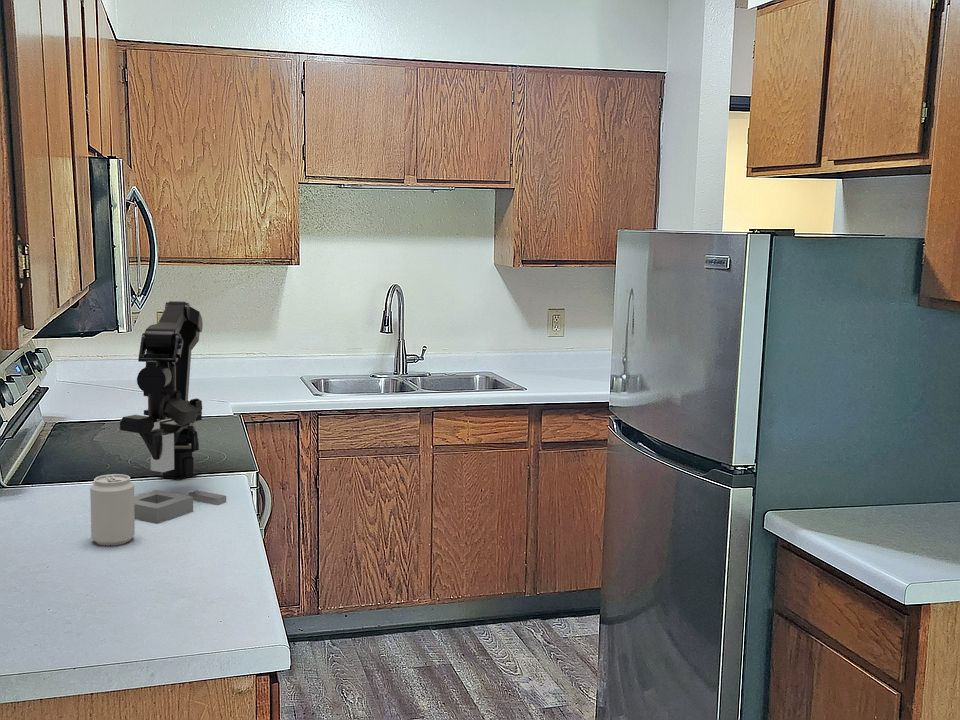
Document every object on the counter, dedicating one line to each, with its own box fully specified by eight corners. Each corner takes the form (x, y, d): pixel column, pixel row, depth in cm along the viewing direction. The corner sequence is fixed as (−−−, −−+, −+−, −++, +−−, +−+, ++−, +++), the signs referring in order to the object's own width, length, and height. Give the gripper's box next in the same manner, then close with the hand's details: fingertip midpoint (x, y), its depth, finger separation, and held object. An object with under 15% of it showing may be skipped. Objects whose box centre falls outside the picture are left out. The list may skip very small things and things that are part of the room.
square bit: (150, 470, 207) (150, 433, 206) (162, 467, 210) (162, 431, 209) (162, 472, 206) (162, 435, 205) (174, 469, 209) (173, 433, 208)
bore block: (119, 515, 193) (119, 500, 192) (156, 503, 202) (156, 490, 201) (157, 523, 188) (157, 508, 188) (193, 511, 197) (193, 496, 197)
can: (99, 549, 172) (98, 484, 171) (85, 538, 178) (84, 475, 176) (140, 542, 177) (140, 478, 175) (126, 532, 183) (125, 470, 181)
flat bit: (188, 501, 206) (188, 493, 206) (197, 498, 208) (197, 490, 208) (217, 506, 202) (217, 498, 202) (226, 503, 205) (226, 495, 205)
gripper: (158, 395, 194) (158, 471, 196) (220, 384, 211) (221, 454, 212) (117, 390, 199) (118, 464, 201) (182, 380, 215) (182, 448, 217)
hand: (162, 458), depth 208 cm, fingers closed on square bit, 3 cm apart
